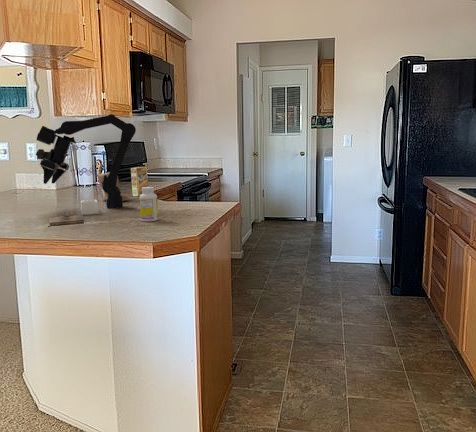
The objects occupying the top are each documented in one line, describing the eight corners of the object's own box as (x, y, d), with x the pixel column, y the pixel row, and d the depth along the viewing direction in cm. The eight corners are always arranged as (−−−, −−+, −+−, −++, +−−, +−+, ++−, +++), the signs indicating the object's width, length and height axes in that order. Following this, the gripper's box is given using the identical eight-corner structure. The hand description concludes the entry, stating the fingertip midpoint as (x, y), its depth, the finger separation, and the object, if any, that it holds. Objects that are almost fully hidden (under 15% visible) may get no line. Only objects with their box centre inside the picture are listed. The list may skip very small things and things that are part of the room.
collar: (96, 211, 204) (96, 199, 203) (98, 213, 198) (97, 201, 198) (81, 212, 202) (80, 200, 201) (82, 214, 196) (81, 202, 195)
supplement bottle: (150, 218, 190) (149, 186, 188) (161, 219, 186) (160, 187, 184) (137, 220, 185) (135, 187, 183) (148, 222, 181) (146, 188, 179)
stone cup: (97, 200, 246) (95, 171, 243) (119, 198, 252) (118, 170, 249) (105, 204, 233) (103, 173, 230) (129, 201, 239) (127, 171, 236)
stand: (100, 212, 207) (100, 202, 206) (103, 216, 198) (103, 205, 197) (76, 214, 203) (75, 204, 202) (78, 218, 194) (77, 207, 193)
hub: (81, 218, 192) (80, 206, 192) (83, 223, 181) (82, 210, 181) (49, 221, 188) (48, 209, 187) (50, 226, 177) (48, 213, 176)
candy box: (138, 196, 258) (136, 168, 256) (132, 196, 261) (130, 168, 258) (148, 194, 266) (147, 166, 263) (142, 194, 268) (141, 166, 265)
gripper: (50, 143, 214) (39, 176, 215) (34, 140, 196) (21, 176, 197) (74, 153, 215) (62, 185, 216) (60, 150, 196) (47, 186, 197)
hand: (48, 183), depth 206 cm, fingers open, 9 cm apart
